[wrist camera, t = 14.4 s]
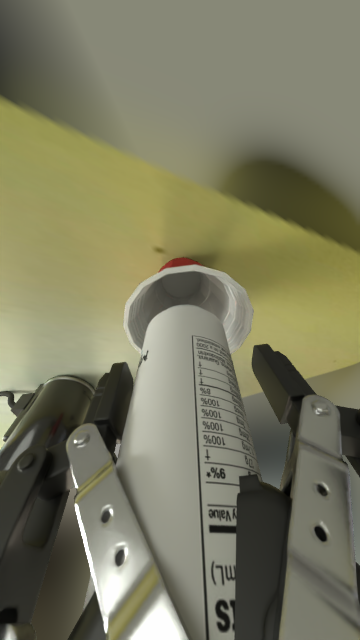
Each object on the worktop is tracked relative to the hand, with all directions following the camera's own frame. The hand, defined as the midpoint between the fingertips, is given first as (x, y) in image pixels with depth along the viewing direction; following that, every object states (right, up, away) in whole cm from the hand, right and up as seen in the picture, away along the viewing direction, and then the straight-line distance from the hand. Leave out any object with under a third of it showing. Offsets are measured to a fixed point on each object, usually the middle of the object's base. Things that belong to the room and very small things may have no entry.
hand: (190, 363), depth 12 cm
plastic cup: (-1, +8, +14) cm, 16 cm away
